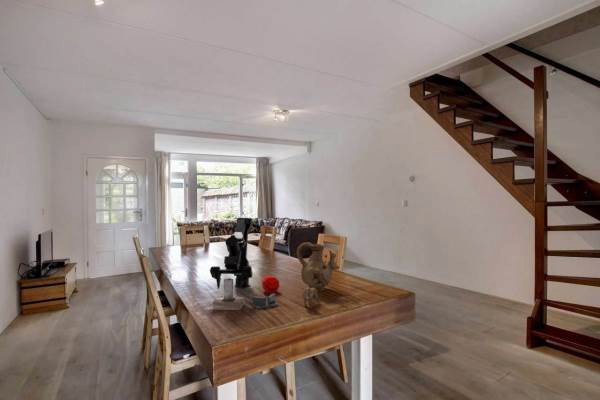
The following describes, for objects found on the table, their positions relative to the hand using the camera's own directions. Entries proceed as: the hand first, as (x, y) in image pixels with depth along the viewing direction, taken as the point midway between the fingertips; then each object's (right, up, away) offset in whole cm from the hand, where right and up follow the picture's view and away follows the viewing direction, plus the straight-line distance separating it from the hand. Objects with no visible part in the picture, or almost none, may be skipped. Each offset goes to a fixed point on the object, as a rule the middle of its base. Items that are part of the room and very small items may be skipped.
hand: (228, 288), depth 135 cm
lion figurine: (+37, -8, +2) cm, 37 cm away
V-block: (+15, -8, +3) cm, 17 cm away
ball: (+16, -9, +23) cm, 29 cm away
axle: (0, -8, 0) cm, 8 cm away
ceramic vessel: (+41, -8, +26) cm, 49 cm away
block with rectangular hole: (0, -8, 0) cm, 8 cm away
